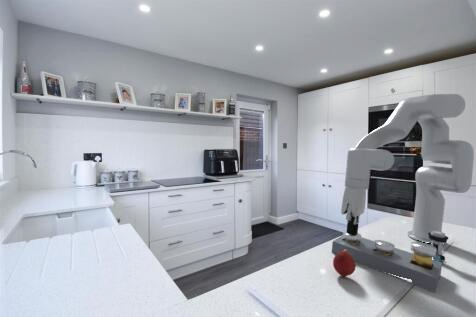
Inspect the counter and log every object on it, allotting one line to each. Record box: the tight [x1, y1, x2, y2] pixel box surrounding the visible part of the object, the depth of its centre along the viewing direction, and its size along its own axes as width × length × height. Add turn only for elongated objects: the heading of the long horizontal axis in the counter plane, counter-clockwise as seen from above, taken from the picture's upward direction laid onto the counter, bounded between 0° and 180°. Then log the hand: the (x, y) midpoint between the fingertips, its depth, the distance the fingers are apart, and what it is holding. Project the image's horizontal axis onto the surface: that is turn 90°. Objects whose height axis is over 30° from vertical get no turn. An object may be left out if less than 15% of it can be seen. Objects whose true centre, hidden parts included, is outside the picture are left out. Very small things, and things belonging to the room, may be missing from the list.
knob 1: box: [342, 230, 362, 245], centre depth 83 cm, size 6×6×6 cm
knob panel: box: [331, 235, 443, 293], centre depth 76 cm, size 13×28×4 cm, turn 43°
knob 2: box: [410, 241, 437, 269], centre depth 68 cm, size 6×6×6 cm
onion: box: [332, 249, 356, 278], centre depth 66 cm, size 6×6×8 cm
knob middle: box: [373, 239, 396, 256], centre depth 76 cm, size 6×6×6 cm
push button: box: [428, 231, 449, 266], centre depth 78 cm, size 7×5×10 cm
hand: (351, 233), depth 83 cm, fingers closed
